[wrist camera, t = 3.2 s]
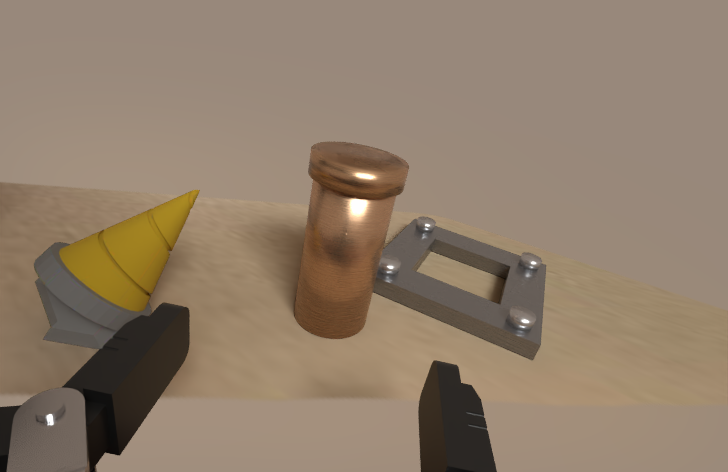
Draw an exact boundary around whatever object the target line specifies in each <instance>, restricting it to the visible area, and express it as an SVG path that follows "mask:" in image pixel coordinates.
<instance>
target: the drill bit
mask: <svg viewBox="0 0 728 472" xmlns="http://www.w3.org/2000/svg"><path fill="white" fill-rule="evenodd" d="M198 193H199V190H193V191H191V192H188V193H186V194H184V195H182V196H179V197H177V198H175V199H173V200H170V201H168V202H166V203H163V204H161V205H159V206H157V207H155V208H154V209H150V210H148V211H145V212H143V213H141V214H139V215H136V216H134V217H132V218H129V219H127V220H125V221H123V222H120V223H118V224H116V225H114V226H111V227H109V228H107V229H105V230H102V231H100V232H98V233H95V234H93V235H91V236H89V237H86V238H84V239H82V240H80V241H77V242H75V243H73V244H67V243H61V242H59V243H54V244H53V245H52V246H50V247H49V248H48V249H47V250H46V251H45V252H44V253H43V254H42V255H41V256H39V257H38V258H37V259H36V260H35V263H34V267H35V271H36V273H37V275H38V277H39V278H38V279H37V280H36V281H35V283H36V286H37V289H38V292H39V294H40V297H41V300H42V303H43V306H44V309H45V311H46V314H47V317H48V320H49V323H50V326H51V328H50V329H49V331H48V332H47V334H46V335H45V337H44V339H43V340H47V341H53V342H59V343H65V344H71V345H77V346H83V347H88V348H94V349H102V348H103V345H104V344H105V343H106V342H107V341H108V340H109V339H110V338H113V335H114V334H115V333H116V332H117V331H118V330H119V329H120V328H121V327H122V326H123V325H124V324H126V323H127V322H129V321H131V320H133V319H135V318H137V317H139V316H140V315H144V316H149V315H150V314H151V307H150V305H149V303H148V301H149V299H150V294H149V293H151V294H152V292H153V290H154V288H155V286H156V284H157V282H158V279H159V277H160V275H161V273H162V271H163V269H164V267H165V264H166V262H167V260H168V258H169V256H170V254H169V252H168V250H170V251H172V249H173V247H174V245H175V243H176V241H177V239H178V237H179V234H180V232H181V230H182V228H183V226H184V224H185V222H186V219H187V217H188V215H189V213H190V209H191V208H192V206H193V204H194V202H195V200H196V198H197V196H198Z"/></svg>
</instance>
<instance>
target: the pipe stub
mask: <svg viewBox="0 0 728 472" xmlns="http://www.w3.org/2000/svg"><path fill="white" fill-rule="evenodd" d="M408 169H409V165H408V163H407V162H406V161H405V160H403V159H401V158H400V157H398V156H396V155H394V154H391V153H389V152H386V151H383V150H380V149H377V148H373V147H369V146H365V145H359V144H353V143H346V142H321V143H317V144H315V145H313V146H312V148H311V154H310V162H309V169H308V173H309V175H310V177H311V178H312V179H313V183H312V191H311V197H310V204H309V211H308V218H307V225H306V232H305V239H304V246H303V253H302V260H301V267H300V274H299V281H298V288H297V295H296V302H295V309H294V315H295V318H296V320H297V322H298V323H299V324H300V325H301V326H302V327H303V328H304V329H305V330H307V331H308V332H310V333H312V334H315V335H317V336H320V337H325V338H331V339H340V338H347V337H350V336H353V335H355V334H357V333H358V332H360V331H361V330H362V328H363V327H364V325H365V322H366V317H367V313H368V309H369V305H370V301H371V297H372V293H373V289H374V284H375V280H376V276H377V272H378V268H379V264H380V260H381V256H382V251H383V247H384V243H385V239H386V235H387V231H388V227H389V223H390V219H391V214H392V210H393V206H394V202H395V198H396V195H399V194H400V193H402V192H403V190H404V186H405V181H406V178H407V174H408Z"/></svg>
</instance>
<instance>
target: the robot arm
mask: <svg viewBox="0 0 728 472" xmlns="http://www.w3.org/2000/svg"><path fill="white" fill-rule="evenodd" d="M188 350H189V309H188V308H187V307H183V306H178V305H174V304H169V303H162V304H161V305H159V306H158V308H157V309H156V310H155V311H154V312H153V313H152V314H151V315H150V316H144V315H140V316H139V317H137V318H135V319H133V320H131V321H129V322H127V323H126V324H124V325H123V326H122V327H121V328H120V329H119V330H118V331H117V332H116V333H115V334H114V335H113V338H110V339H109V340H108V341H107V342H106V343H105V344H104V345H103V348H102V349H100V350H99V351H98V352H97V353H96V354H95V355H94V356H93V357H92V358H91V359H90V360H89V361H88V362H87V363H86V364H85V365H84V366H83V367H82V368H81V369H80V370H79V371H78V372H77V373H76V374H75V375H74V376H73V377H72V378H71V379H70V380H69V381H68V382H67V383H66V384H65V385H64V386H63V387H62V388H55V389H51V390H47V391H44V392H42V393H39V394H37V395H35V396H33V397H32V398H30V399H29V400H27V401H26V402H25V403H24V404H23V405H20V406H9V407H0V472H96V464H97V463H98V461H99V460H100V458H101V457H102V456H103V455H104V453H105V452H106V453H110V454H115V455H120V454H121V453H122V451H123V450H124V448H125V447H126V446H127V444H128V442H129V441H130V440H131V438H132V437H133V435H134V434H135V432H136V431H137V430H138V428H139V427H140V425H141V424H142V422H143V421H144V419H145V418H146V416H147V415H148V413H149V412H150V411H151V409H152V408H153V406H154V405H155V403H156V402H157V400H158V399H159V397H160V396H161V395H162V393H163V392H164V390H165V389H166V387H167V386H168V384H169V383H170V381H171V380H172V378H173V377H174V376H175V374H176V373H177V371H178V370H179V368H180V367H181V365H182V364H183V362H184V360H185V358H186V356H187V353H188ZM419 437H420V460H421V472H497V471H496V466H495V462H494V457H493V453H492V448H491V444H490V439H489V434H488V431H487V426H486V421H485V418H484V412H483V407H482V403H481V399H480V398H479V396H478V395H477V393H476V391H475V390H474V388H473V387H472V385H468V384H463V383H461V379H460V373H459V368H458V366H457V365H454V364H450V363H445V362H440V361H435V360H434V361H433V363H432V365H431V368H430V370H429V373H428V376H427V379H426V382H425V384H424V387H423V390H422V393H421V396H420V401H419Z"/></svg>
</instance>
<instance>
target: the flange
mask: <svg viewBox="0 0 728 472" xmlns="http://www.w3.org/2000/svg"><path fill="white" fill-rule="evenodd" d="M435 224H436V222H435V221H434V220H433V219H431V218H428V217H419V218H418V220H417V219H414V220H413V221H412V222H411V223H410V224H409V225H408V226H407V227H406V228H405V229H404V230H403V231H402V232H401V233H400V234H399V235H398V236H397V237H396V238H395V239H394V240H393V241H392V242H391V243H390V244H388V245H387V246H386V247H385V248H384V249H383V251H382V256H381V260H380V264H379V268H378V272H377V276H376V280H375V284H374V289H373V292H375V293H377V294H379V295H382V296H384V297H386V298H389V299H391V300H393V301H396V302H398V303H400V304H403V305H405V306H408V307H410V308H412V309H415V310H417V311H419V312H422V313H424V314H426V315H429V316H431V317H433V318H436V319H438V320H440V321H443V322H445V323H447V324H450V325H452V326H454V327H457V328H459V329H461V330H464V331H466V332H468V333H471V334H473V335H475V336H478V337H480V338H482V339H485V340H487V341H489V342H492V343H494V344H496V345H499V346H501V347H503V348H506V349H508V350H511V351H513V352H515V353H518V354H520V355H522V356H525V357H527V358H529V359H532V360H533V359H534V357H535V355H536V353H537V351H538V349H539V347H540V345H541V332H542V318H543V304H544V290H545V275H546V265H544V264H541V262H542V260H541V258H540V257H538V256H536V255H534V254H531V253H522V256H519V255H516V254H513V253H510V252H507V251H505V250H502V249H499V248H496V247H493V246H491V245H488V244H485V243H482V242H479V241H476V240H474V239H471V238H468V237H465V236H462V235H459V234H457V233H454V232H451V231H448V230H445V229H442V228H440V227H437V226H435ZM431 251H433V252H436V253H438V254H441V255H444V256H446V257H449V258H452V259H454V260H457V261H460V262H462V263H465V264H468V265H470V266H473V267H476V268H478V269H481V270H484V271H486V272H489V273H492V274H494V275H497V276H500V277H502V278H505V282H504V286H503V289H502V293H501V297H500V300H499V304H497V303H495V302H492V301H490V300H487V299H485V298H482V297H480V296H477V295H474V294H472V293H469V292H467V291H464V290H462V289H459V288H457V287H454V286H452V285H449V284H447V283H444V282H442V281H439V280H437V279H434V278H432V277H429V276H426V275H424V274H421V273H419V272H416V271H417V269H418V268H419V267H420V265H421V264H422V262H423V261H424V260H425V258H426V257H427V256H428V254H429V253H430V252H431Z"/></svg>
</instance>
